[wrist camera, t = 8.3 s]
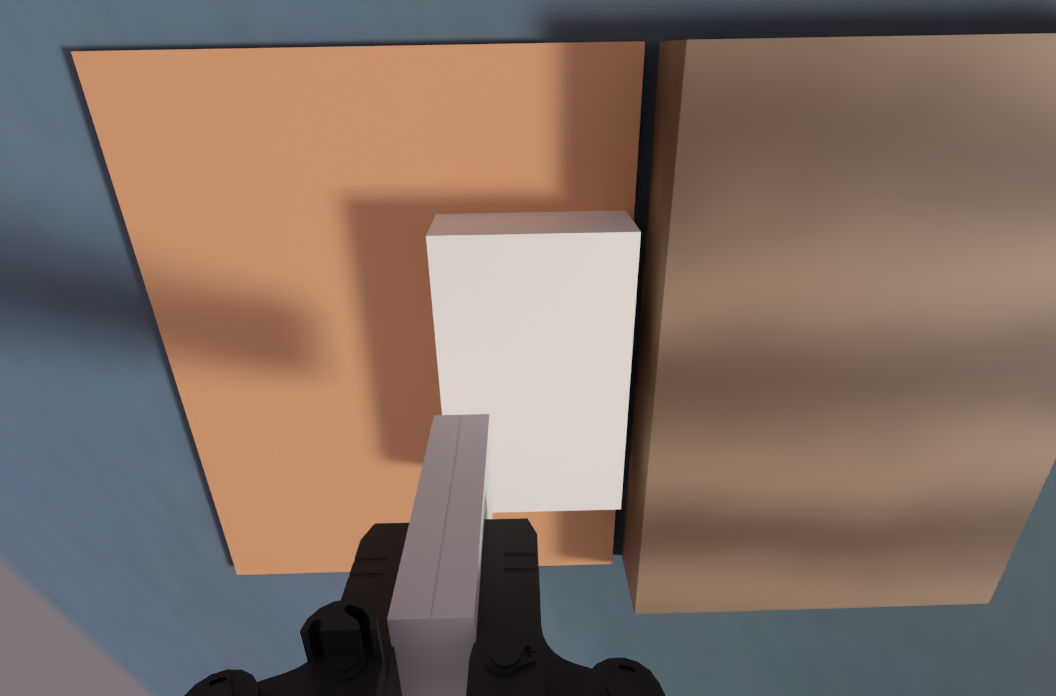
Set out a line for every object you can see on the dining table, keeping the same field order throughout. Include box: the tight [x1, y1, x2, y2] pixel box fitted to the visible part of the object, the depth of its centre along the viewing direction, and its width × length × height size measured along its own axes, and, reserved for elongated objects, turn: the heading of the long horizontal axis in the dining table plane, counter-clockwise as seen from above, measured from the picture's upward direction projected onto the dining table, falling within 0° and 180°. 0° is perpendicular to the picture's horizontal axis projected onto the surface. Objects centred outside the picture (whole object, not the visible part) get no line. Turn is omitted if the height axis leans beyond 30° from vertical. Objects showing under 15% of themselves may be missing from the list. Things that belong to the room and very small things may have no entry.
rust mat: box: [71, 41, 645, 575], centre depth 21 cm, size 20×16×1 cm
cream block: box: [426, 210, 641, 513], centre depth 20 cm, size 10×6×2 cm, turn 1°
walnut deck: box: [622, 33, 1056, 614], centre depth 20 cm, size 20×14×3 cm
